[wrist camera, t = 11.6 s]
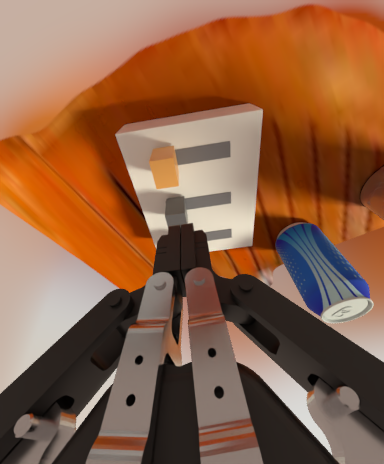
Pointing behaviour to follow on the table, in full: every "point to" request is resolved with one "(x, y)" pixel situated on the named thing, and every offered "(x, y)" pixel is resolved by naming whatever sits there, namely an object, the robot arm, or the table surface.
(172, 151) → the block
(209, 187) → the breaker panel
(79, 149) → the table surface
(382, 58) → the table surface
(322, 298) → the beer can
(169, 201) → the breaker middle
